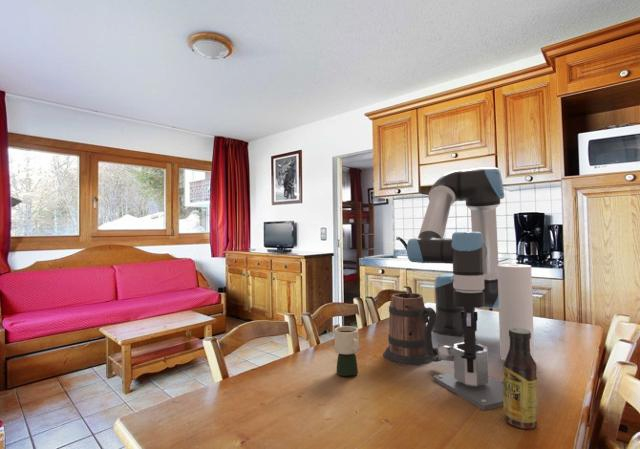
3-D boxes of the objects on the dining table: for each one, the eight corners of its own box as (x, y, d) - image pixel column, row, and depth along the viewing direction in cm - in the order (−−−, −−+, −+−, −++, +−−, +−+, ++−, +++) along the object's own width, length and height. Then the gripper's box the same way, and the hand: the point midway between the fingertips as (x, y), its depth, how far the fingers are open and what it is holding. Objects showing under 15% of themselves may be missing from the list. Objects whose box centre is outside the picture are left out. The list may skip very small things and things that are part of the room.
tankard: (372, 352, 119) (371, 293, 120) (411, 344, 127) (410, 289, 127) (419, 377, 98) (417, 306, 99) (463, 366, 105) (461, 300, 106)
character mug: (368, 377, 99) (367, 331, 99) (347, 383, 95) (346, 335, 95) (346, 365, 108) (345, 323, 108) (327, 370, 105) (326, 326, 105)
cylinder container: (539, 365, 105) (536, 265, 105) (505, 363, 107) (502, 265, 107) (527, 354, 114) (524, 262, 115) (496, 353, 116) (493, 262, 116)
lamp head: (487, 374, 93) (486, 344, 93) (488, 387, 86) (487, 354, 86) (440, 368, 98) (439, 339, 98) (437, 379, 91) (436, 348, 91)
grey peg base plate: (432, 379, 97) (432, 357, 97) (472, 371, 101) (471, 350, 102) (484, 410, 80) (483, 383, 80) (528, 398, 85) (527, 373, 85)
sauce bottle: (497, 416, 77) (494, 326, 78) (524, 414, 78) (521, 324, 78) (516, 433, 71) (513, 334, 71) (545, 430, 71) (542, 333, 72)
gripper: (455, 283, 103) (458, 361, 102) (450, 296, 84) (453, 392, 83) (483, 284, 100) (486, 364, 99) (484, 298, 81) (488, 397, 80)
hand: (471, 377), depth 91 cm, fingers closed on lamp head, 8 cm apart
